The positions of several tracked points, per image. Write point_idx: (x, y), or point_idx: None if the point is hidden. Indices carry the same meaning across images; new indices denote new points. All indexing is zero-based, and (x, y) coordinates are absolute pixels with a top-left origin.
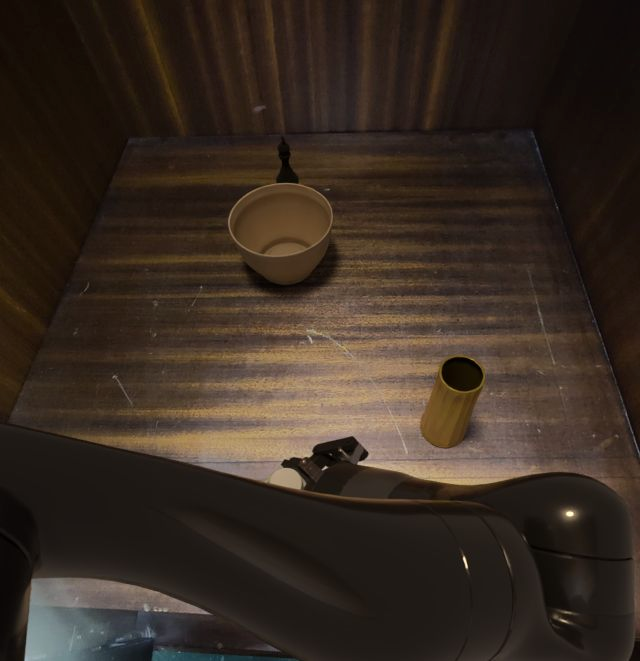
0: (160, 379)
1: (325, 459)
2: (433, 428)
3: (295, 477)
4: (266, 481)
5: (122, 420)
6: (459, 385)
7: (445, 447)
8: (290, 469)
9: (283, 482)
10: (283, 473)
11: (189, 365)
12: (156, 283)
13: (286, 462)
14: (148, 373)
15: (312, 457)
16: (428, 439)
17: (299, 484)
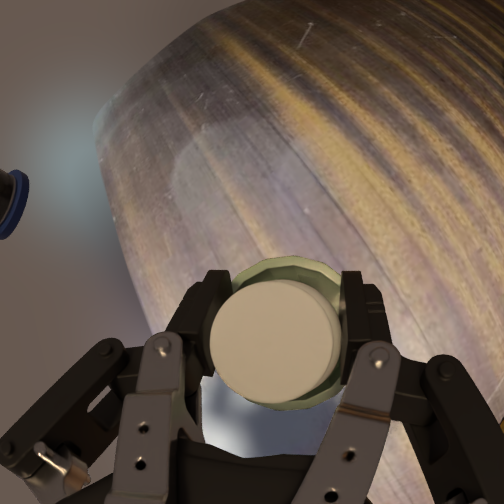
0: (345, 49)
1: (421, 415)
2: None
3: (309, 364)
4: (293, 260)
5: (275, 52)
6: None
7: None
8: (326, 329)
9: (269, 334)
10: (299, 315)
11: (385, 62)
12: (417, 8)
13: (353, 286)
14: (340, 39)
15: (408, 373)
16: (501, 428)
17: (293, 390)
